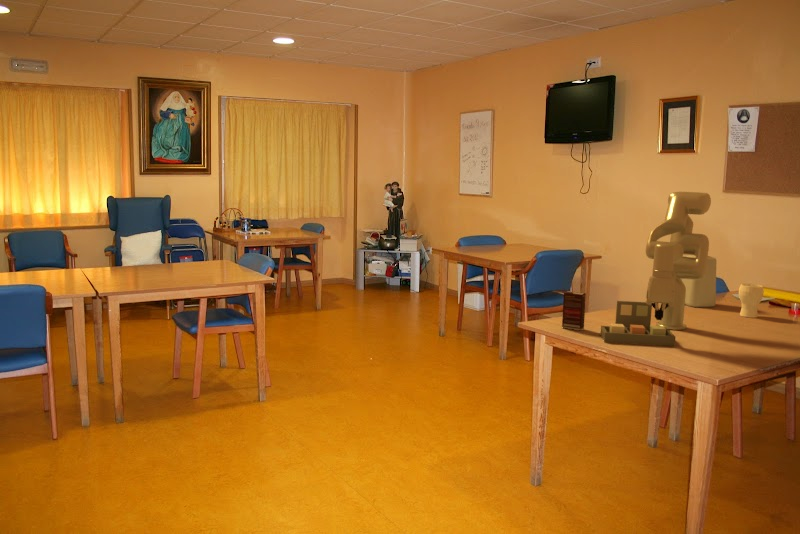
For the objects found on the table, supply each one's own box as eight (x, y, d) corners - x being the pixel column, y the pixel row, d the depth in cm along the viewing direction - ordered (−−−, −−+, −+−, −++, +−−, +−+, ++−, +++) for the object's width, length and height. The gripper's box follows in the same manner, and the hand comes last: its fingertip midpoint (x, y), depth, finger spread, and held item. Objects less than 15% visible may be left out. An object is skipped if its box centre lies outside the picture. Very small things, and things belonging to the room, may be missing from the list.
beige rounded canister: (719, 307, 355) (724, 252, 350) (693, 307, 351) (697, 252, 347) (699, 301, 369) (704, 248, 365) (674, 301, 366) (679, 249, 361)
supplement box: (584, 328, 301) (586, 292, 299) (580, 331, 297) (583, 294, 295) (564, 326, 306) (566, 290, 303) (561, 328, 302) (563, 292, 299)
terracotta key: (629, 332, 286) (630, 324, 285) (642, 333, 285) (642, 325, 285) (631, 335, 281) (632, 327, 280) (644, 336, 280) (645, 328, 280)
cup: (766, 317, 332) (769, 286, 330) (749, 319, 328) (752, 287, 326) (747, 313, 342) (750, 282, 339) (731, 314, 338) (734, 283, 336)
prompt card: (614, 333, 295) (616, 300, 293) (648, 335, 293) (651, 302, 291) (615, 333, 294) (617, 301, 292) (649, 335, 292) (652, 303, 290)
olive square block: (649, 333, 285) (650, 325, 284) (662, 334, 284) (663, 326, 283) (652, 336, 280) (653, 328, 279) (665, 337, 279) (666, 329, 279)
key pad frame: (600, 335, 291) (601, 325, 291) (667, 338, 287) (668, 329, 287) (604, 342, 279) (605, 332, 279) (674, 346, 276) (675, 336, 275)
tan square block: (609, 331, 287) (610, 323, 286) (622, 332, 286) (622, 324, 286) (611, 334, 282) (611, 326, 282) (624, 335, 281) (624, 326, 281)
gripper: (679, 274, 280) (675, 319, 283) (641, 272, 283) (637, 316, 285) (684, 276, 273) (680, 322, 276) (644, 274, 275) (641, 320, 278)
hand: (658, 319), depth 280 cm, fingers closed
